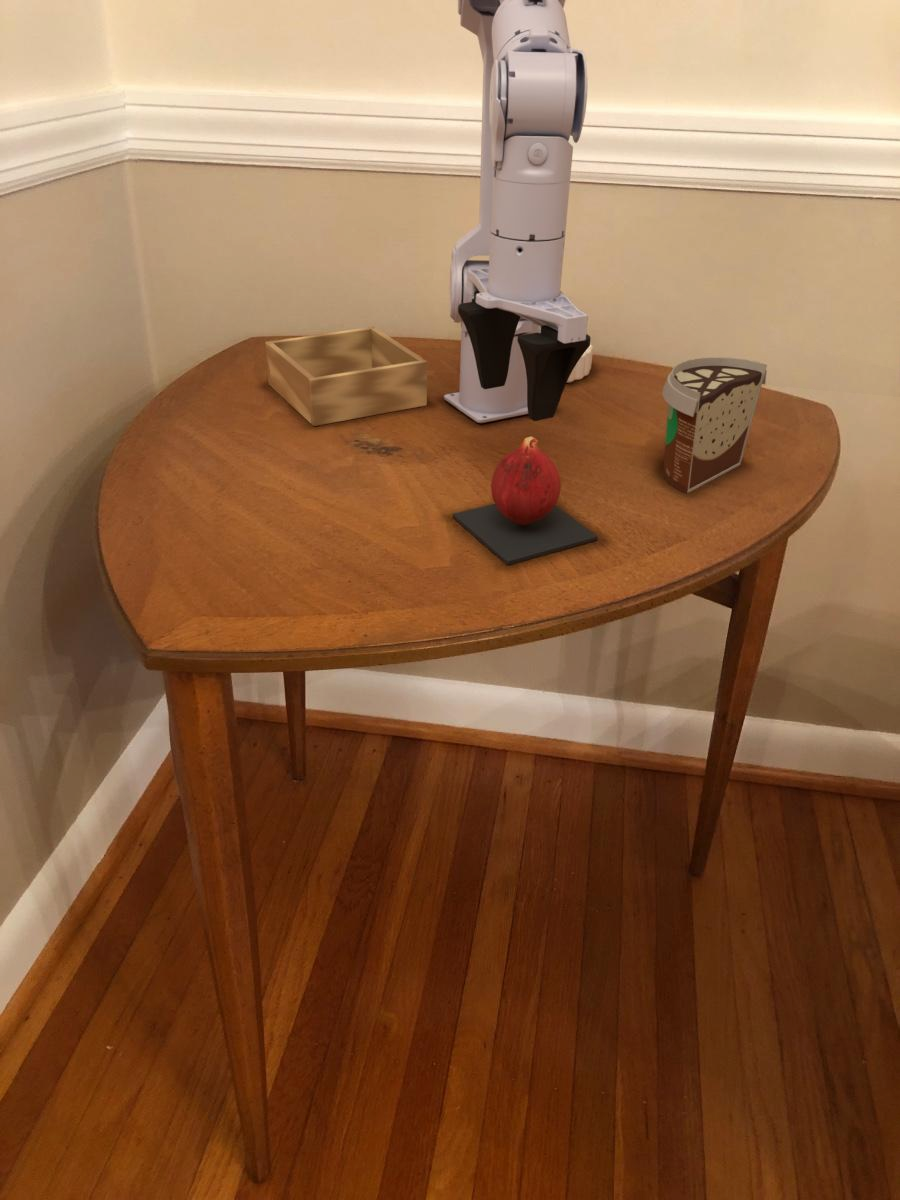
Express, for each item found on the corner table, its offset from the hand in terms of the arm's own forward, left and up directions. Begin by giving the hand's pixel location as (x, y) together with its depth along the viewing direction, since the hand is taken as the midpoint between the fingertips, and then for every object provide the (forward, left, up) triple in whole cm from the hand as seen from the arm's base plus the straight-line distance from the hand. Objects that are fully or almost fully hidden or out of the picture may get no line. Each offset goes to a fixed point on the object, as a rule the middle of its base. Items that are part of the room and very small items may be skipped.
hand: (516, 401), depth 79 cm
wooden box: (+2, -30, -10) cm, 32 cm away
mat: (+1, +5, -10) cm, 11 cm away
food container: (-20, +2, -10) cm, 22 cm away
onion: (+2, +5, -9) cm, 11 cm away
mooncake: (-23, -28, -10) cm, 38 cm away
